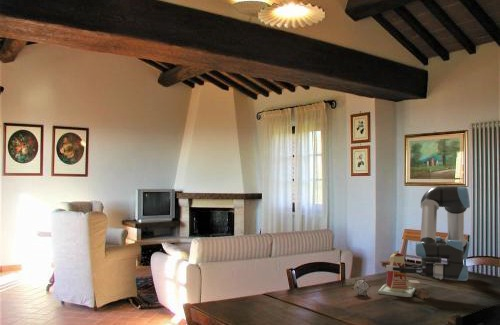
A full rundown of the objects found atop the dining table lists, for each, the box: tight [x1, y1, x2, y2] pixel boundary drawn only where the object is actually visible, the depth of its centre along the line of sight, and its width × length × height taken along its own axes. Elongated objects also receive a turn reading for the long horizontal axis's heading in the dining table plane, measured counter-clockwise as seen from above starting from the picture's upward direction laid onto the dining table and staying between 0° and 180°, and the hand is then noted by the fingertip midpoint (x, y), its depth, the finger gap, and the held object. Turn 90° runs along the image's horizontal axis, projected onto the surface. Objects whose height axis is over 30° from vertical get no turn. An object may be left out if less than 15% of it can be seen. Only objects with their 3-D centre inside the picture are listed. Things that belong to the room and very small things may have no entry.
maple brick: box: [407, 279, 421, 291], centre depth 243 cm, size 5×5×4 cm
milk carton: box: [386, 250, 409, 291], centre depth 236 cm, size 9×9×20 cm
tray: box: [378, 283, 416, 298], centre depth 235 cm, size 16×16×2 cm
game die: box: [351, 278, 372, 297], centre depth 228 cm, size 9×8×10 cm
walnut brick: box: [416, 287, 430, 300], centre depth 225 cm, size 4×4×4 cm
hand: (388, 266), depth 238 cm, fingers closed on milk carton, 9 cm apart
